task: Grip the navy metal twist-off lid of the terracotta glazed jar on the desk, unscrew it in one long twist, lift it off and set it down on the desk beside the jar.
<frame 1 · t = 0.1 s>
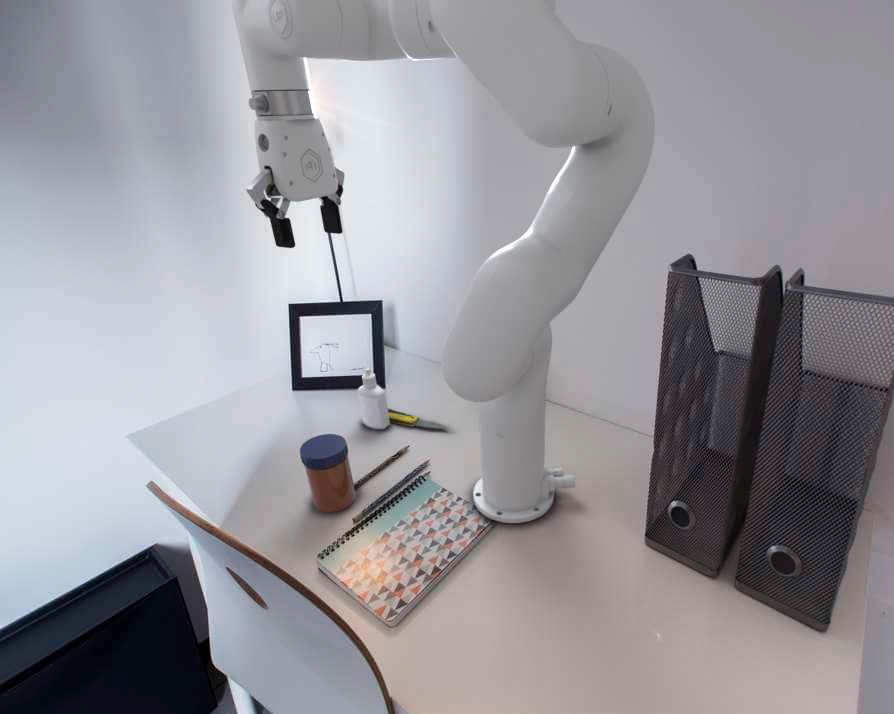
hand: (311, 239, 78), 37 cm above the table, tool pointing down, fingers open, 9 cm apart
eye dropper bottle: (376, 425, 103), on the table
utility knife: (414, 423, 103), on the table
jar lid: (323, 448, 79), point 10 cm above the table, screwed on, not yet turned
jar: (335, 498, 84), on the table
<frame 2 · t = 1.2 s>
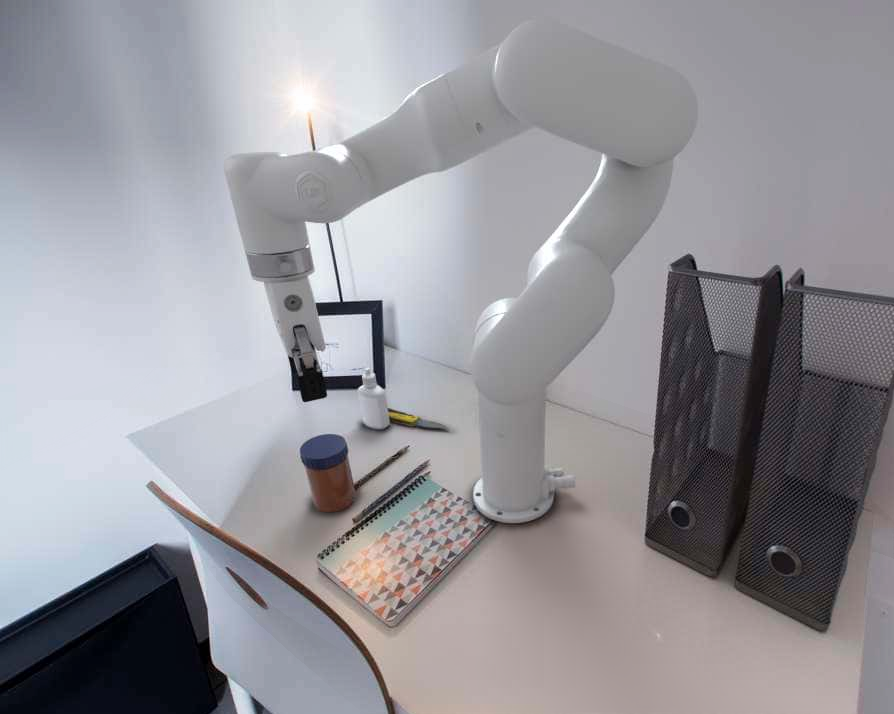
hand: (308, 384, 74), 20 cm above the table, tool pointing down, fingers open, 9 cm apart
nothing on the table moved.
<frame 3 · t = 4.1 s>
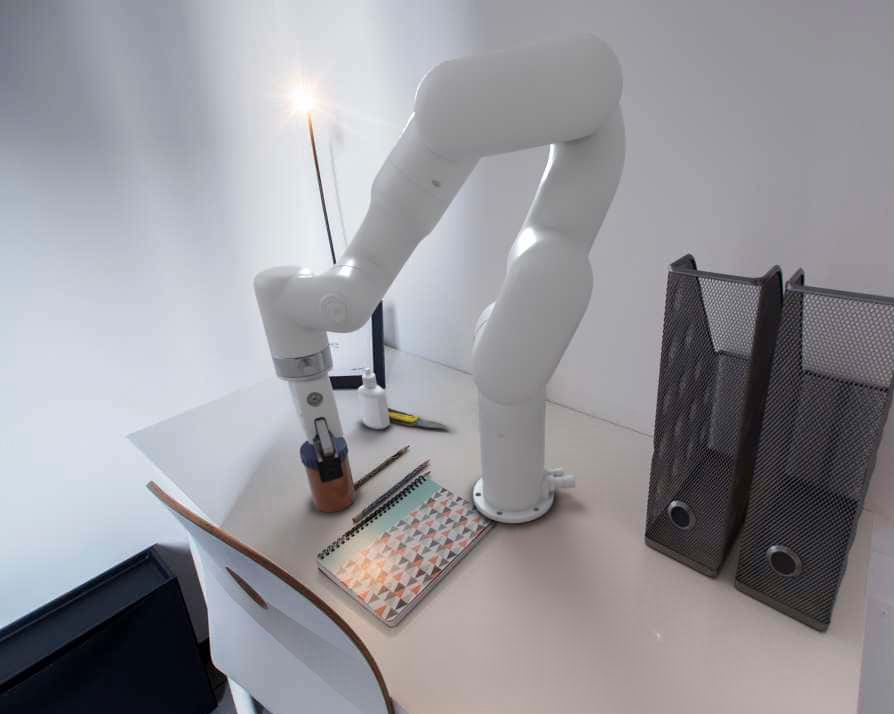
hand: (327, 465, 81), 7 cm above the table, tool pointing down, fingers closed on jar lid, 6 cm apart
jar lid: (323, 448, 79), point 10 cm above the table, screwed on, not yet turned, touching gripper
everything else where it was.
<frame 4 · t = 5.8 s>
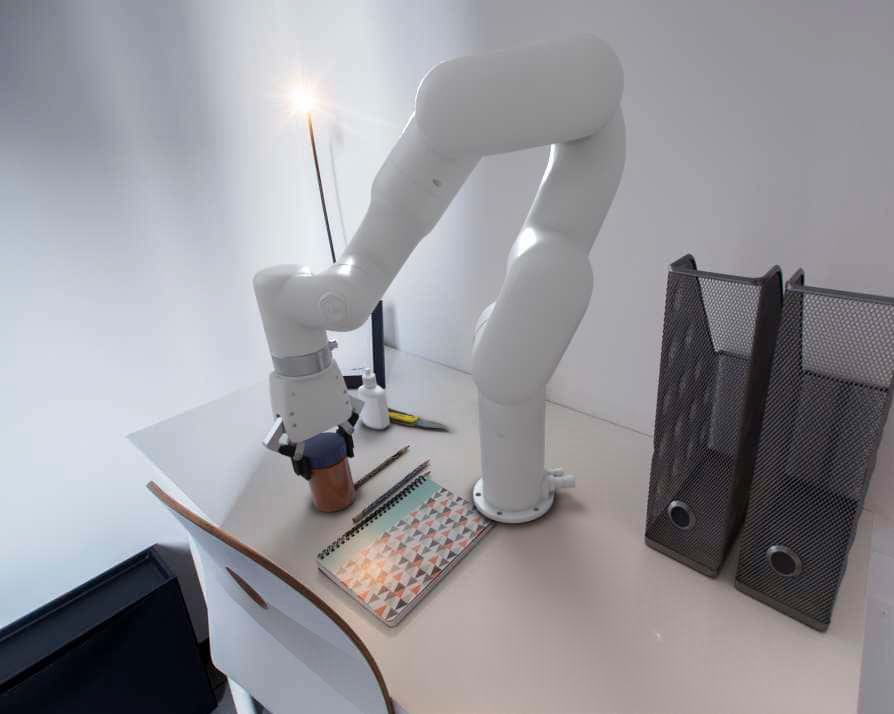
hand: (326, 464, 81), 7 cm above the table, tool pointing down, fingers closed on jar lid, 6 cm apart
jar lid: (322, 446, 79), point 10 cm above the table, turned 110° so far, risen 0.3 cm, still on its thread, touching gripper
everything else where it was.
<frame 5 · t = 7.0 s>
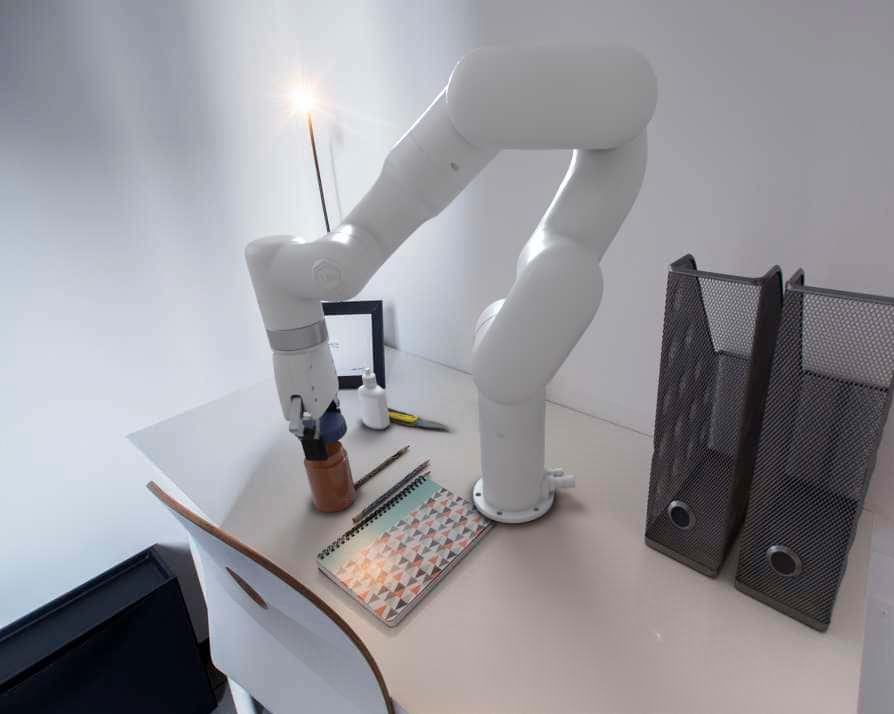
hand: (326, 444, 79), 10 cm above the table, tool pointing down, fingers closed on jar lid, 6 cm apart
jar lid: (321, 425, 77), point 14 cm above the table, off its thread, touching gripper
everything else where it was.
when the fingers open (0 cm above the table, at t = 12.7 s): jar lid drops 2 cm, point 1 cm above the table.
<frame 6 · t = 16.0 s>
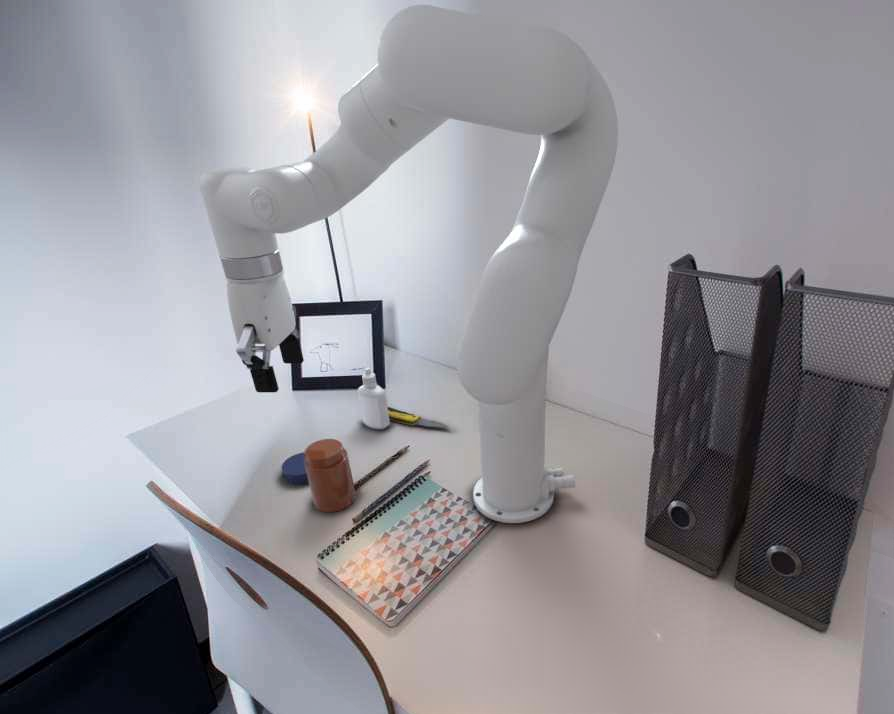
hand: (281, 376, 81), 18 cm above the table, tool pointing down, fingers open, 9 cm apart
jar lid: (302, 464, 89), point 1 cm above the table, off its thread
everything else where it was.
at the end: jar lid came off its thread; jar lid point 1.5 cm above the table; the gripper is holding nothing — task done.
